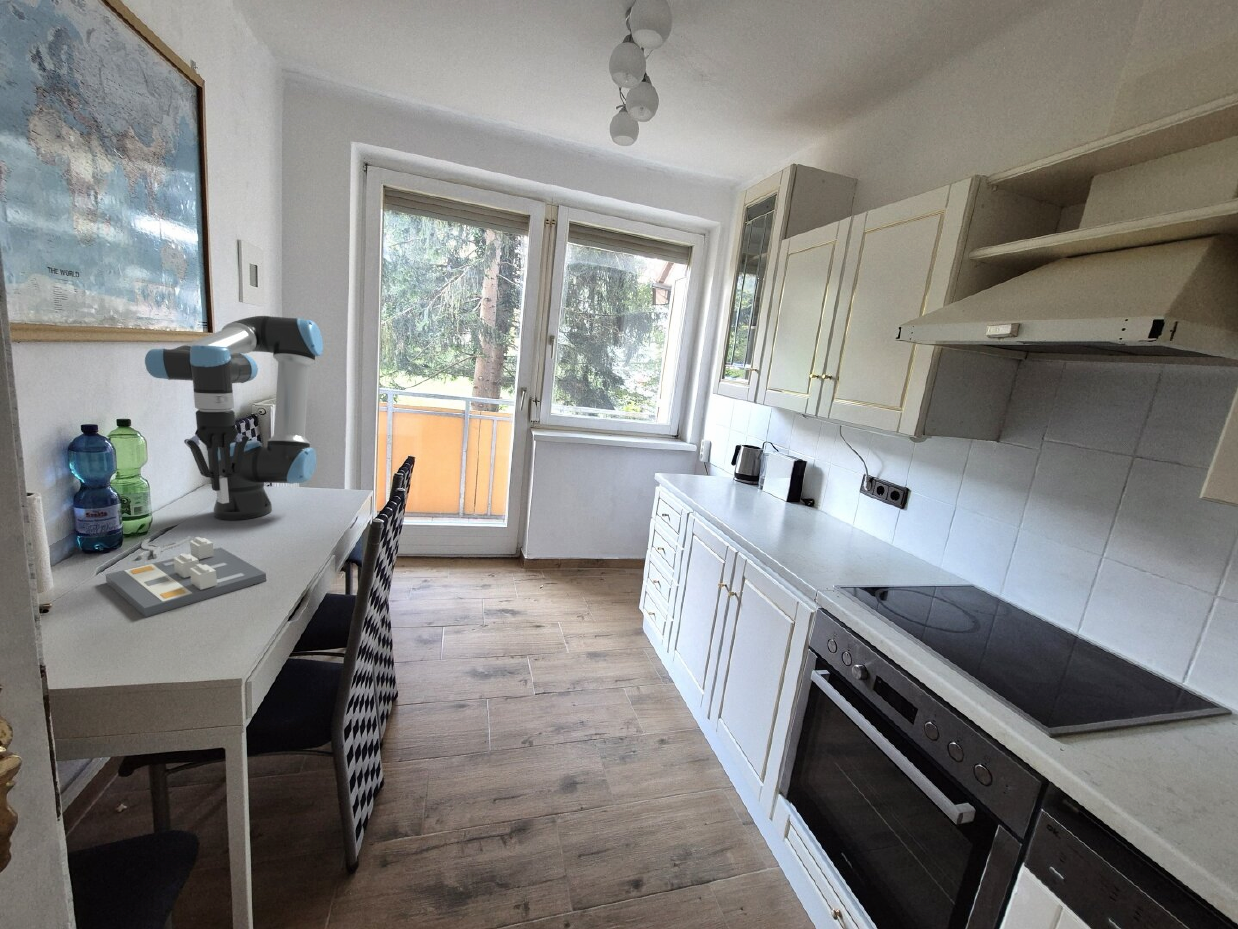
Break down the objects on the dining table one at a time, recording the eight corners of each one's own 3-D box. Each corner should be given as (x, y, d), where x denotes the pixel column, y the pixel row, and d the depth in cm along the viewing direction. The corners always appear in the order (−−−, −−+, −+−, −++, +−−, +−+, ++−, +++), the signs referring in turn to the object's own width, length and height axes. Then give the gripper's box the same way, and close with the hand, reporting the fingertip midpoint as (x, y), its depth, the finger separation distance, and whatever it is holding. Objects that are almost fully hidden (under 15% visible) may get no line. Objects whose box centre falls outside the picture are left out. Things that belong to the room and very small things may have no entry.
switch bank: (221, 554, 133) (220, 546, 133) (266, 581, 121) (265, 572, 120) (106, 582, 115) (105, 573, 114) (145, 617, 102) (144, 607, 102)
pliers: (191, 532, 142) (172, 552, 129) (192, 538, 143) (172, 558, 130) (146, 535, 138) (121, 556, 125) (147, 540, 139) (122, 562, 125)
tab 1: (205, 550, 129) (203, 535, 128) (213, 555, 127) (212, 540, 126) (190, 554, 127) (189, 538, 126) (199, 559, 124) (197, 543, 123)
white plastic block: (207, 578, 115) (205, 561, 114) (217, 585, 113) (215, 568, 112) (191, 583, 113) (189, 566, 112) (200, 589, 110) (199, 572, 109)
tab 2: (191, 567, 120) (189, 551, 119) (200, 573, 117) (198, 557, 116) (175, 571, 117) (173, 555, 116) (183, 577, 115) (182, 561, 114)
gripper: (188, 412, 116) (198, 510, 121) (252, 410, 127) (259, 500, 132) (175, 409, 120) (185, 504, 125) (238, 407, 131) (245, 494, 136)
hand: (223, 501), depth 129 cm, fingers closed
